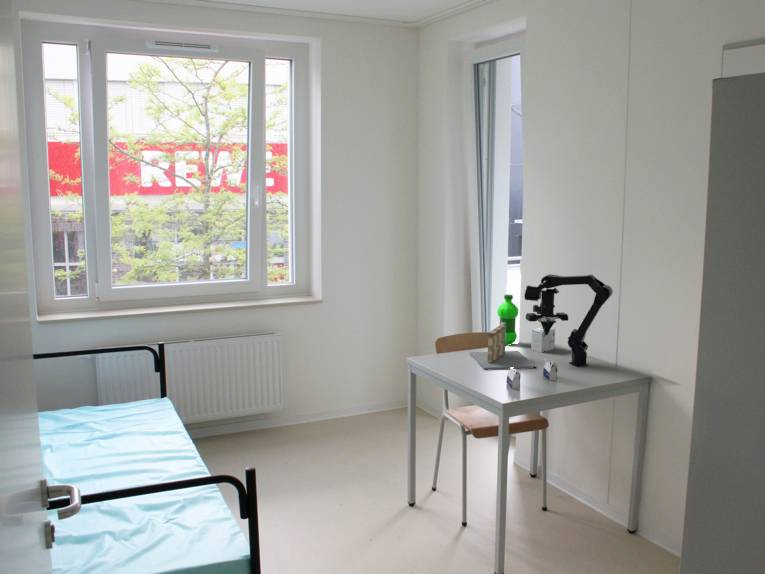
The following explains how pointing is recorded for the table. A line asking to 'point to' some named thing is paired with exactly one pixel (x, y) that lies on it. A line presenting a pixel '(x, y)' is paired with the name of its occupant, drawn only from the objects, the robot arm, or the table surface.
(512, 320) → the plastic bottle
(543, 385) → the table surface
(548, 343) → the light bulb box
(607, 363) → the table surface
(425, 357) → the table surface
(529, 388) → the table surface
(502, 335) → the gate panel
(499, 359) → the base
